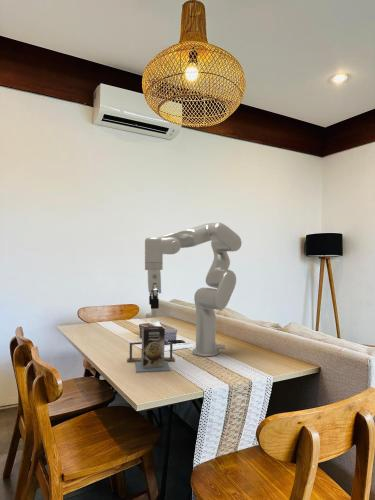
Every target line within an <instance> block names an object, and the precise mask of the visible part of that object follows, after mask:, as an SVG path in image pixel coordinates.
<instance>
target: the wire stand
mask: <svg viewBox="0 0 375 500" xmlns="http://www.w3.org/2000/svg"><path fill="white" fill-rule="evenodd" d="M133 345H134V346H135V345H142V341H138V342H129V357H127V360H126V363H135V362H141V357H133ZM167 345H168V346H169V357H165V356H164V361H167V362H168V363H169V362H170V363H171V362H172V363H173V362H175V361H176V360H175V357H174V356H173V341H170V342H165V344H164V346H167Z"/></svg>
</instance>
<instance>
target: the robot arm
mask: <svg viewBox="0 0 375 500" xmlns="http://www.w3.org/2000/svg"><path fill="white" fill-rule="evenodd" d="M208 242H210V244H211V249H212V252H213V260H212V264H211V266H210V268H209V270H208V272H207V273H206V277H205V283H206V285H207V286H208V287H200V288H198V289H197V290H196V291H195V293H194V297H193V298H194V304H195V315H196V316H195V348H193V349H192V354H193V355H194V356H198V357H214V356H217V355H219V350H225V349H226V345H225V344H221V343H219V344H217V343H216V336H217V335H216V334H217V333H216V330H217V329H216V322H217V317H216V312H215V310H218V311H221V310H223V309H225V308H226V307H227V306H228V304H229V301H230V300H231V296H232V294H233V293H234V290H235V287H236V284H237V276H236V273H235V272H234V271H233V270H231V269H229V267H230V265H231V259H230V257H229V254H228V252H232V253H233V252H237V251H239V250H240V249H241V247H242V243H243V242H242V238H241V237H240V236H239V235H238V234H237V233H236V232H235V231H234V230H233V229H231V227H229V226H227V225H226V224H225V223H222V222H210V223H209V222H208V223H204V224H201V225H197V226H194V227H191V228H188V229H183V230H179V231H177V232H173V233H169V234H166V235H162V236H158V237H155V236H154V237H146V238H145V239H144V270H145V271H147V288H148V293H149V297H148V301H149V305H150V309H151V310H154V309H155V310H156V309H157V310H158V309H159V308H160V305H159V303H160V302H159V301H160V298H159V294H162V277H161V276H162V275H161V273H162V272H161V271H163V270H164V267H163V258H164V257H163V256H164V255H175V254H177V253H179V251H180V250H181V249H185V248H187V249H188V248H193V247H196V246H198V245H202V244H204V243H208Z"/></svg>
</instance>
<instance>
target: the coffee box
mask: <svg viewBox="0 0 375 500" xmlns="http://www.w3.org/2000/svg"><path fill="white" fill-rule="evenodd" d="M165 333H166V329H165V327H164V326H161V325H160V326H142V327H141V342H142V344H141V357H140V358H141V364H142V367H143V368H154V367H164V357H165V345H164V344H165V343H166V342H165V341H166V340H165V338H166V337H165V335H166V334H165Z"/></svg>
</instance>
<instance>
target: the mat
mask: <svg viewBox="0 0 375 500" xmlns="http://www.w3.org/2000/svg"><path fill="white" fill-rule="evenodd" d="M134 363H135V373H152V372H153V373H154V372H155V373H156V372H157V373H158V372H171V367H170V364H169V362H167V361H164V367H154V368H143V367H142V364H141V362H134Z"/></svg>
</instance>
